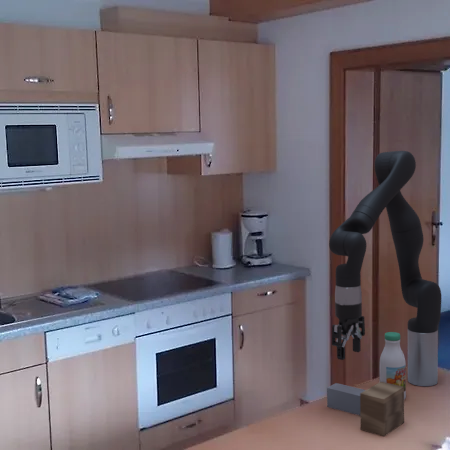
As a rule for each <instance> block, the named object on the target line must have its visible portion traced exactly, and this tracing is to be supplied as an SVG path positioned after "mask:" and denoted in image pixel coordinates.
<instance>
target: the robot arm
mask: <svg viewBox="0 0 450 450" xmlns="http://www.w3.org/2000/svg"><path fill="white" fill-rule="evenodd" d="M416 163H417V162H416V158H415V157H414V155H413V154H412V153H411V152H410V151H408V150H395V151H383V152H380V153H378V154H377V156H376V157H375V160H374V173H375V176H376V180H377V183H378V186H377V187H375V188H374V189H373V190H372V191H370V192H369V193H368V194H366V195H365V196H364V197H363V198H362V199H361V200H360V201H359V202H358V203H357V205H356V207H355V208H354V210H353V212H352V214H351V215H350V216H349V217H348V218H347V219H345V221H343V222H342V223H341V224H340V225H339V226H337V228H335V230H334V231H333V232H332V234H331V236H330V237H329V242H328V246H329V249H330V251H331V253H332V254H334V255H336V256H345V257H347V261H346V262H345V263H340V264H337V266H336V267H335V290H334V311H335V312H334V313H335V317H336V318H337V319H338V324H332V325H331V345H332V347H333V346H334V347H336V359H337V360H341V361H345V360H346V347H345V346H346V343H347V341H349V339H350V337H352V351H353V352H355V353H360V352H361V351H362V349H361V346H362V345H361V340H362V338H363V337H364V336H366V327H365V326H366V323H365V316H364V315H363V314H362V311H363V309H362V308H363V303H362V302H363V301H362V299H363V298H362V296H363V295H362V283H361V282H362V281H361V277H362V276H361V272H362V267H363V264H364V263H363V262H364V258H365V255H366V251H367V240H366V237H365V234H368V233H369V232H371V230H372V229H373V228H374V225H375V224H376V222H377V221H378V219H379V217H380V216H381V214H382V213H383V211H384V210H385V209H386V212H387V217H388V218H387V219H388V221H389V227H390V233H391V237H392V240H393V245H394V250H395V254H396V260H397V264H398V268H399V278H400V279H399V280H400V288H401V294H402V298H403V300H404V302H405V303H406V304H407V305H409V306H411V307H413V308H416V309H417V310H416V317H412V318H409V319H408V321H407V382H408V383H410V384H411V385H412V386H413V385H415V386H419V387H432V386H435V385H437V384H438V380H439V379H438V377H439V376H438V373H439V372H438V370H439V369H438V366H439V365H438V361H439V360H438V357H439V355H438V352H439V350H438V349H439V347H438V346H439V344H438V343H439V340H438V339H439V332H438V331H439V329H438V328H439V323H440V322H441V315H442V291H441V288H440V286H439V285H438V283H436V282H434V281H431V280H427V279H423V277H422V273H421V271H420V263H419V260H420V259H419V258H420V255H421V252H422V249H423V245H424V239H425V238H424V233H423V232H424V231H423V227H422V223H421V219H420V218H419V215H418V214H417V212H416V211H415V209H414V208H413V207H412V206H411V205H410V204H409V203H408V200H406V198H405V197H404V195H403V194H402V191H401V190H402V189H403V187H405V185H406V184H408V182H409V181H410V180H411V178H412V177H413V175H414V173H415V171H416V166H417V164H416Z"/></svg>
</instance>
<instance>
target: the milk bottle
mask: <svg viewBox="0 0 450 450" xmlns="http://www.w3.org/2000/svg"><path fill="white" fill-rule="evenodd" d="M384 342H385V344H384V347H383V349H382V352H381V354H380V358H379V382H386V383H390V384H394V385H399V386H403V387H404V401H405V399H406V397H407V365H406V363H407V361H406V359H405V358H406V356H405V355H404V352H403V350H402V348H401V344H400V343H401V334H400V333H399V332H395V331H389V332H385V333H384Z"/></svg>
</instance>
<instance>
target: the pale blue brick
mask: <svg viewBox="0 0 450 450" xmlns="http://www.w3.org/2000/svg"><path fill="white" fill-rule="evenodd" d="M365 390H366V389H363V388H360V387H355V386H351V385H345V384H342V383H337V382H335V383H334V384H331V385H330V386H327V387H326V405H327V407H326V408H330V409H334V410H336V411H337V410H338V411H342V412H345V413H348V414H353V415H357V416H360V393H362V392H364V391H365Z"/></svg>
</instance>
